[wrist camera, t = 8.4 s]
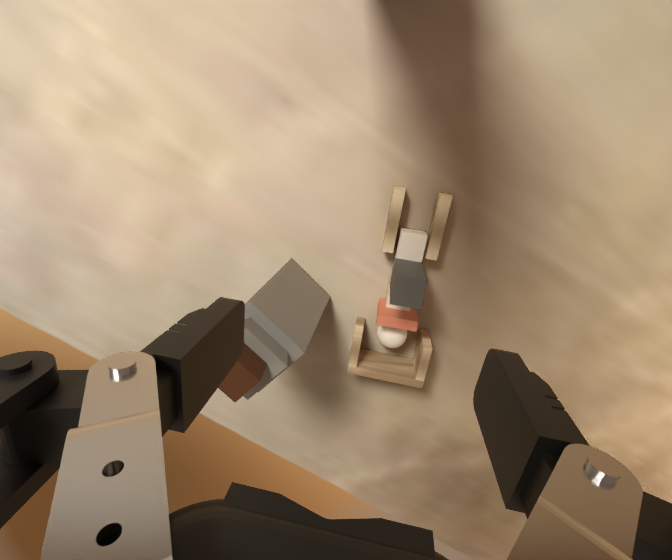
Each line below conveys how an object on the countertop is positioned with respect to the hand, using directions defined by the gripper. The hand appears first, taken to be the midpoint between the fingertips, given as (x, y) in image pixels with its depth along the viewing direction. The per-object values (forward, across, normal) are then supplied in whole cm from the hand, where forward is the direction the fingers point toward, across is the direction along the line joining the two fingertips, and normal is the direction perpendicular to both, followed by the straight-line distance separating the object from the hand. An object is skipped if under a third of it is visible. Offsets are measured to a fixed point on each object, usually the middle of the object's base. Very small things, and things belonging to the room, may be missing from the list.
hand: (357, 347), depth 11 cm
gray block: (+29, -4, +6) cm, 30 cm away
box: (+29, -4, +16) cm, 33 cm away
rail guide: (+29, -4, +1) cm, 30 cm away
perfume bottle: (+29, +9, +12) cm, 33 cm away
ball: (+27, -4, +14) cm, 31 cm away
